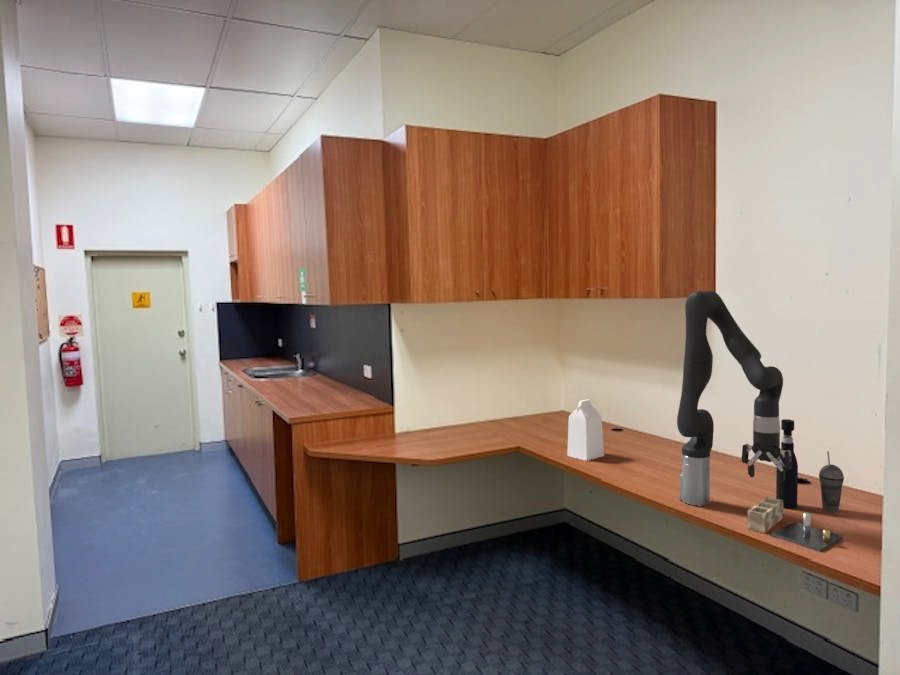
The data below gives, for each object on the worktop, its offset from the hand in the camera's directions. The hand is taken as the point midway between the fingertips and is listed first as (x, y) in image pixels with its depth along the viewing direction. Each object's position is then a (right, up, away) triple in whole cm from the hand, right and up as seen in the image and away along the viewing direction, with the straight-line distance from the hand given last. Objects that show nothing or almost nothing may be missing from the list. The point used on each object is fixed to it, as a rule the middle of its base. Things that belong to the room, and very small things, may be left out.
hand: (766, 479), depth 190 cm
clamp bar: (+1, -15, +1) cm, 15 cm away
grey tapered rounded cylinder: (+28, -13, +11) cm, 33 cm away
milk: (-39, -10, +84) cm, 93 cm away
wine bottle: (+16, -13, +16) cm, 26 cm away
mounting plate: (+7, -15, -10) cm, 20 cm away
